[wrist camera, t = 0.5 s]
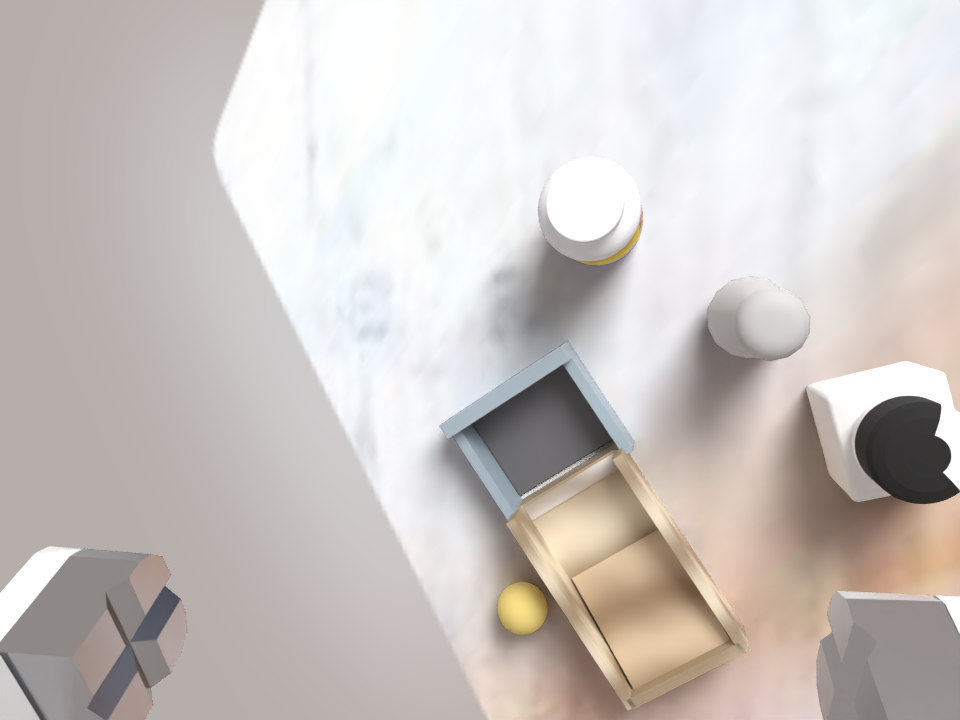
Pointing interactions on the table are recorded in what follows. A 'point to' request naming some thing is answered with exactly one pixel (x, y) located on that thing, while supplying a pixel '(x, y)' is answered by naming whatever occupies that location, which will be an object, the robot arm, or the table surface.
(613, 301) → the table surface
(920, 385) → the medicine bottle
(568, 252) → the supplement bottle
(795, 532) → the table surface
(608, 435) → the light blue open bin
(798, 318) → the salt shaker
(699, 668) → the tan wooden tray
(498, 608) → the ball
